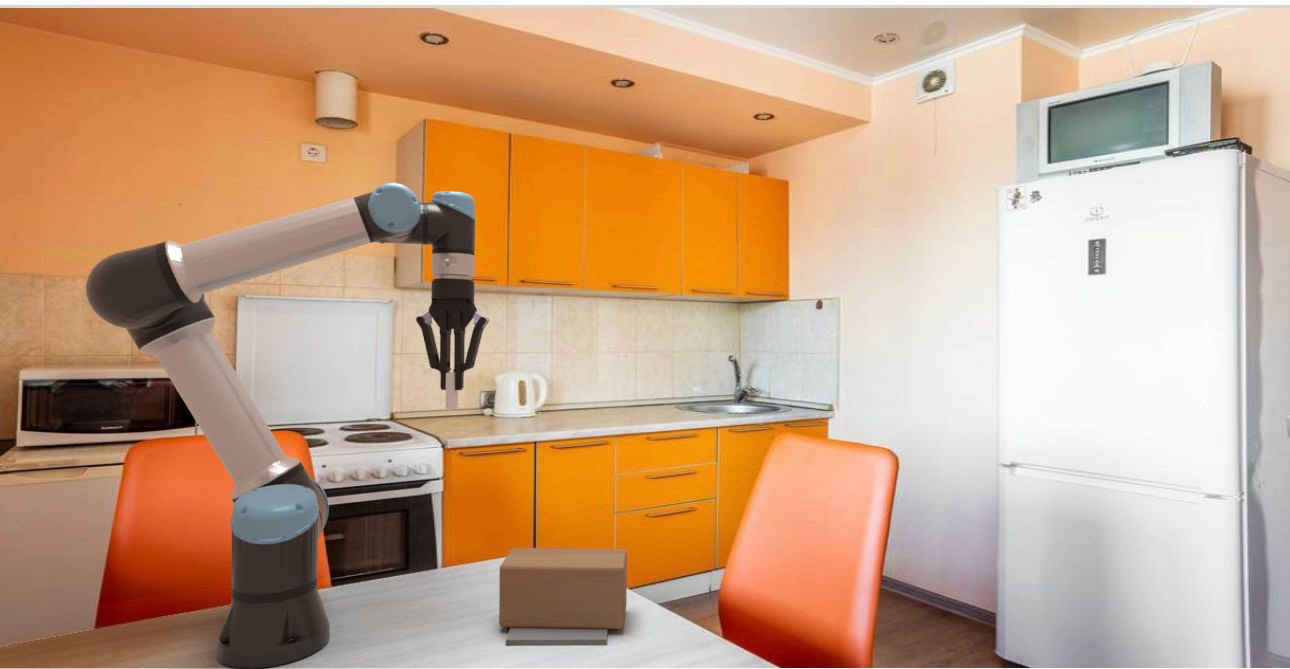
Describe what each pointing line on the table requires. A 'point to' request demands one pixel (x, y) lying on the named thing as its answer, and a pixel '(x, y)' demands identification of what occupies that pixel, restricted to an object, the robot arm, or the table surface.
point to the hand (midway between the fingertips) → (451, 408)
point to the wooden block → (563, 588)
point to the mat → (556, 636)
